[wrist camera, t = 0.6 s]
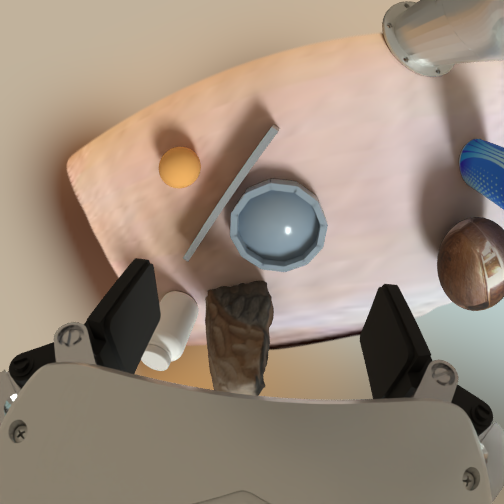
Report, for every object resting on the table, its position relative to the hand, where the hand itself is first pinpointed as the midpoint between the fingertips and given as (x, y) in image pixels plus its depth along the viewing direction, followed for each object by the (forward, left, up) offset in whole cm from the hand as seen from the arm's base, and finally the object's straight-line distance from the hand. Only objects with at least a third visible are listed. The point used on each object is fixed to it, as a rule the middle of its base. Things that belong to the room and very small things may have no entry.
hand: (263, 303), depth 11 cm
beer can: (-21, +25, -32) cm, 46 cm away
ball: (+9, -11, -29) cm, 32 cm away
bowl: (+9, +6, -32) cm, 33 cm away
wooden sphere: (-9, +34, -32) cm, 47 cm away
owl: (+26, +10, -32) cm, 42 cm away
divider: (+9, -3, -32) cm, 33 cm away
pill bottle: (+35, +1, -32) cm, 47 cm away
